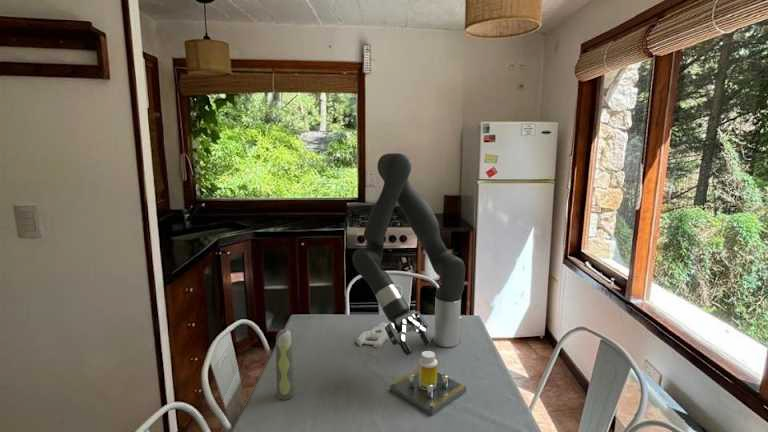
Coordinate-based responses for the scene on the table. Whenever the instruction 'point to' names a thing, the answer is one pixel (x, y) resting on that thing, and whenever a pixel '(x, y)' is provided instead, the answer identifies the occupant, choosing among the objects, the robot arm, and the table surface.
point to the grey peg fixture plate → (428, 392)
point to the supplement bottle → (427, 370)
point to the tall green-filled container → (284, 365)
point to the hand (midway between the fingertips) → (419, 349)
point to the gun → (374, 336)
